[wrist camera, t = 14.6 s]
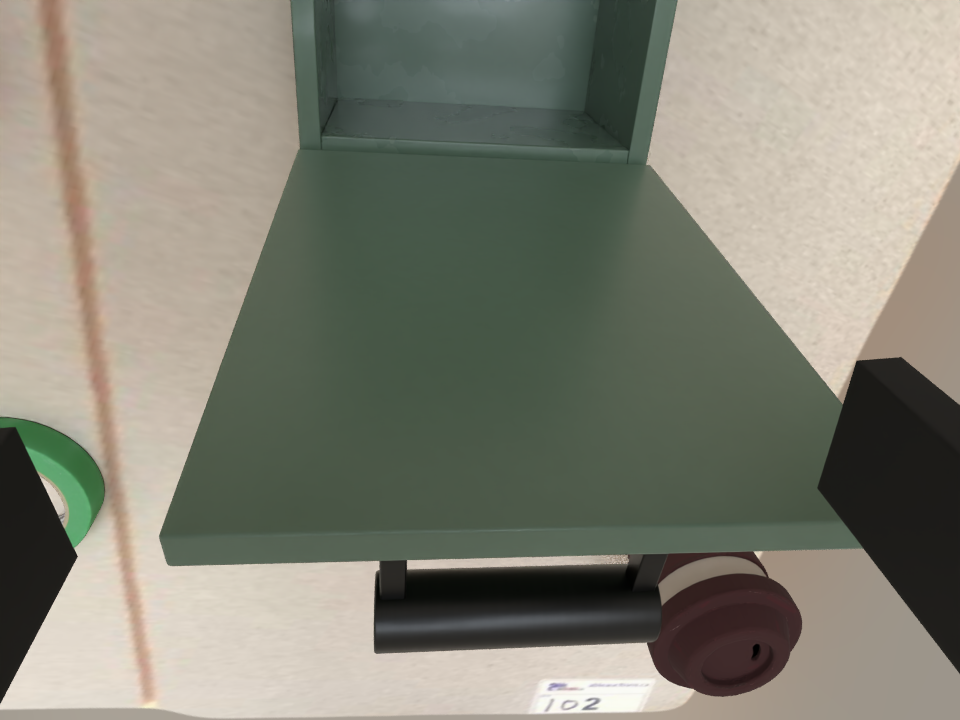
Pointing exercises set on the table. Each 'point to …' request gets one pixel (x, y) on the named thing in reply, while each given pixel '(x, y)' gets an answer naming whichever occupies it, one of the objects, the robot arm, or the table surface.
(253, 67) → the table surface
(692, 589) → the coffee cup
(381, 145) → the green storage box
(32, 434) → the tape roll
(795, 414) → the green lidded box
